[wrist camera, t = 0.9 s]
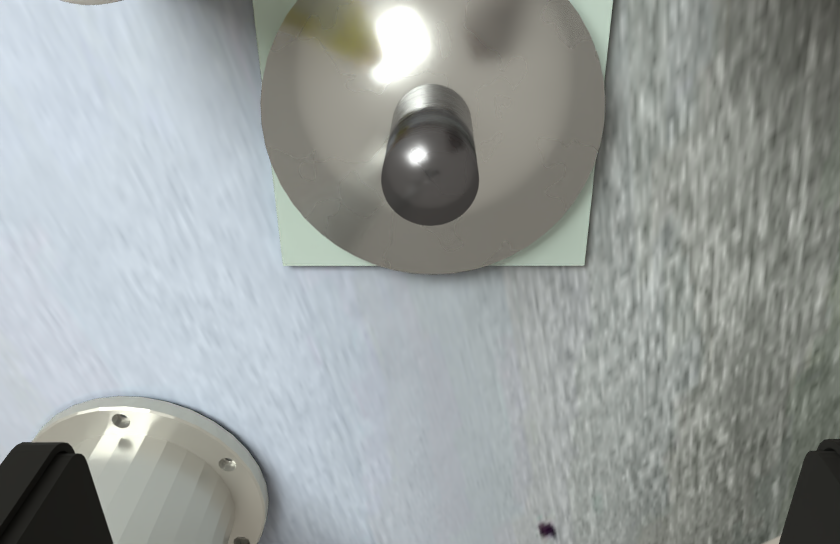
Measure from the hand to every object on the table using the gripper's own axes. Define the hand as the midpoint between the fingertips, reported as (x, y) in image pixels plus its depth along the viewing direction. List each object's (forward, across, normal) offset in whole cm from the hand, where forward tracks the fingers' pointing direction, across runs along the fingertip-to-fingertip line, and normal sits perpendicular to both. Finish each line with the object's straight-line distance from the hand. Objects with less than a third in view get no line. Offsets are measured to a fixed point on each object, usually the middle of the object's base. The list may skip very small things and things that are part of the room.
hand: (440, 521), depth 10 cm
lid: (+21, 0, 0) cm, 21 cm away
